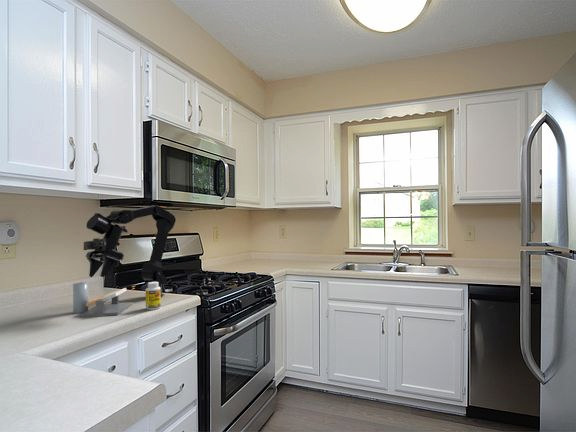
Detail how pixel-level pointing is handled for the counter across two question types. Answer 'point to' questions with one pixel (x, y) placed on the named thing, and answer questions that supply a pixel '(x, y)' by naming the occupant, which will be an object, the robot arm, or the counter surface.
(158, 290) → the supplement bottle
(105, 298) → the two-tone square pad
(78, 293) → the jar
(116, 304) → the switch base
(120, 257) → the robot arm
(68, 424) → the counter surface
